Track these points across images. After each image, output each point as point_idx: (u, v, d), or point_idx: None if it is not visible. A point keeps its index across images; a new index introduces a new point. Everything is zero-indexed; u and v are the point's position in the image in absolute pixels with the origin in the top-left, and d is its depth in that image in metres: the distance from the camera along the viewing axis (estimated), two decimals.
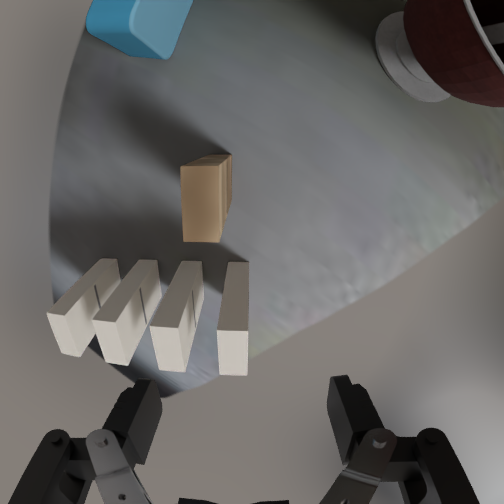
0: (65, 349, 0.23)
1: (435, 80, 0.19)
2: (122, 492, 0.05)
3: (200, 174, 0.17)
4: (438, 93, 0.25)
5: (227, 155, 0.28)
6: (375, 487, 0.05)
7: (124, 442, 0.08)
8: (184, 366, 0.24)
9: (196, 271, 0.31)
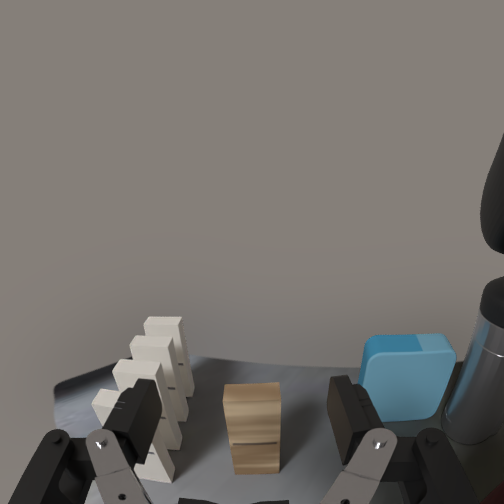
0: (151, 319, 0.38)
1: None
2: (122, 492, 0.05)
3: (273, 391, 0.24)
4: None
5: None
6: (375, 487, 0.05)
7: (124, 442, 0.08)
8: (117, 372, 0.26)
9: (174, 436, 0.29)
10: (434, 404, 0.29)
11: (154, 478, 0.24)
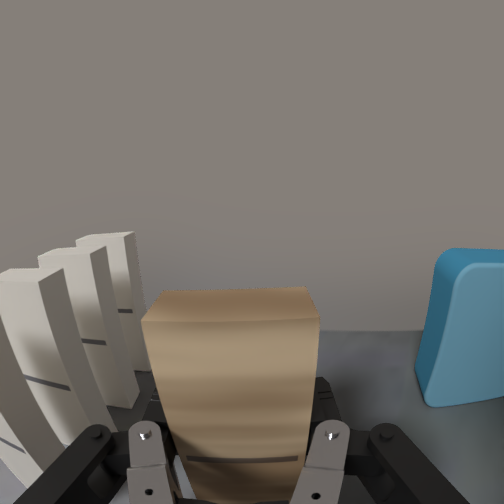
0: (90, 235, 0.23)
1: None
2: (150, 487, 0.06)
3: (294, 302, 0.09)
4: None
5: None
6: (341, 476, 0.06)
7: (167, 433, 0.09)
8: None
9: None
10: None
11: None
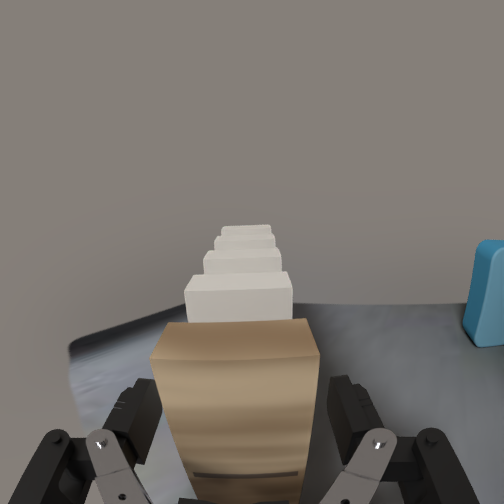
0: (229, 227, 0.31)
1: None
2: (122, 492, 0.05)
3: (296, 337, 0.09)
4: None
5: None
6: (375, 487, 0.05)
7: (124, 442, 0.08)
8: (212, 261, 0.19)
9: None
10: None
11: None
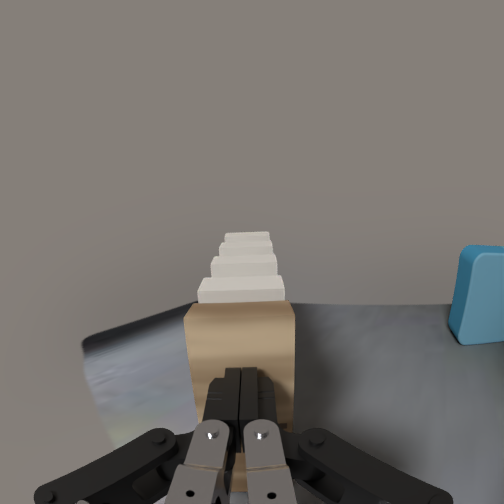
0: (231, 233, 0.34)
1: None
2: (193, 489, 0.06)
3: (280, 308, 0.14)
4: None
5: None
6: (288, 472, 0.06)
7: (232, 430, 0.09)
8: (218, 266, 0.22)
9: None
10: None
11: None
